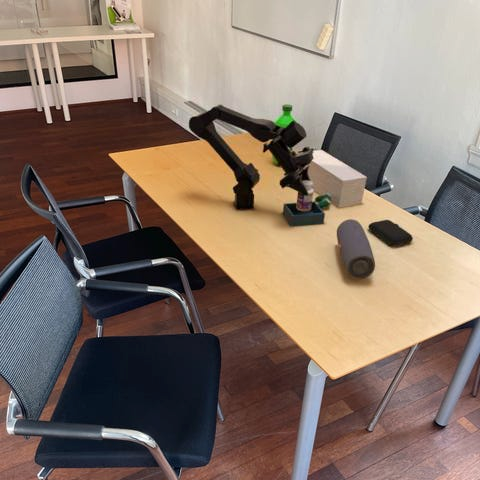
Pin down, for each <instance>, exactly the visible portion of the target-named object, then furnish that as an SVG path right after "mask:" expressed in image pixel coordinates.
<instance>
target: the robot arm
mask: <svg viewBox="0 0 480 480" xmlns="http://www.w3.org/2000/svg"><path fill="white" fill-rule="evenodd" d="M216 120H218V121H221V122H223V123H226V124H228V125H230V126H233V127H235V128H238V129H241V130H242V131H245V132H247V133H248V134H249V135H250V136H252V138H254V139H255V140H257V141H259V143H263V148H262V153H266V152H267V151H269V152H270V154H271V155H273V156H274V158H275V159H276V160H277V162H278V164H276V166H277V167H278V168H279V167H280V168H281V169H282V170H283V172H284V173H283V177H281V178H280V179H279V186H280V187H281V188H282V190H283V189H285V188H290V189H291V190H293V191H295V192H297V193H298V192H300V193H302V194H303V195H305V196H307V195H308V192H307V190H306V188H305V186H304V184H303V182H302V181H305V180H307V181H310V178H309V175H308V170H309V166H308V167H305V166H306V165H309V164H310V163H311V162H312V160H313V159H314V158H313V151H314V150H312V149H313V148H310V147H309V146H308V145H307V146H304V147H303V148H302V150H301V151H300V152H298V153H296V151H295V150H292V152H291V151H290V149H289V148H288V147H292V148H294V147H296V145H297V146H298V144H300V143H301V142H302V141H304V139H306V138H307V132H306V130H305V128H304V126H303V125H301V124H300V123H299V122H297V120H296V119H295V120H296V121H295V120H293V121H292V122H291V123H289V125H288V126H287V127H285V128H284V127H281V126H278V125H275V123H274V122H275V121H274V120H270V119H266V118H255V117H251V116H249V115H246V114H243V113H241V112H238V111H235V110H234V109H231V108H228V107H226V106H224V105H223V104H220V103H218V104H216V105H214V106H213V107H212V108H210V109H209V110H208V111H205V112H204V111H201V112H198V113H197V114H195V115H193V116H191V117H190V118H189V120H188V129H189V130H190V132H192V133H193V134H194V135H195V136H196V137H197V138H198V139H199V138H200V139H202V140H204V141H206V143H208V144H209V146H210V147H211V148H212V149H213V151H214V152H215V153H216V154H217V155H218V156H219V157H220V158H221V159H222V160H223V162H224V163H225V164H226V165H227V166H228V168H229V169H230V170H231V171H232V173H233V175H234V179H235V181H236V182H237V183H236V184H235V185H234V186H233V187H232V191H233V193H234V201H233V205H234V207H235V208H236V210H250V209H251V210H253V209H254V208H255V206H254V205H255V194H254V190H253V189H254V188H255V187H256V185H258V184H259V182H260V180H261V176H260V173H259V169H257V168H256V167H255V165H254V164H253V163H252V162H249V163H248V164H247V163H245V162H243V160H242V159H241V158H240V157H239V156H238V154H236V152H235V151H234V150H233V148H232V147H231V146H230V145H229V144H228V143H227V142H226V141H225V140H224V139H223V137H222V136H221V135H220V134H219V133H218V131H217V128H216V125H215V123H214V121H216ZM296 122H297V123H296ZM278 136H281V137H280V138H279V139H276V138H277V137H278ZM312 189H313V187H312Z"/></svg>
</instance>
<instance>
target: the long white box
mask: <svg viewBox="0 0 480 480" xmlns="http://www.w3.org/2000/svg"><path fill="white" fill-rule="evenodd" d="M312 151H313V158H314V159H313V160H312V162H311V163H310V164H309V165H306V166H305V167H308V166H309V170H308V175H309V178H310V181H311V182H312V183H313V185H312V187H313V190H314V191H315V192H316V193H317V194H319V196H321V195H326V194H327V193H329V194H330V195H331V203H330V204H333V205H334V206H335V207H337V208H339V209H340V208H346V207H349V206H350V207H351V206H357V205H362V202H363V199H364V194H365V188H366V184H367V179H368V177H367V176H366V175H365V174H363V173H361V172H360V171H358V170H356V169H354V168H352V167H351V166H349V165H347V164H345V163H344V162H343V161H341V160H339V159H337V158H336V157H334V156H332V155H331V154H329V153H328V152H326V151H324V150H323V149H318V150H312Z"/></svg>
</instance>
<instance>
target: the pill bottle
mask: <svg viewBox="0 0 480 480" xmlns="http://www.w3.org/2000/svg"><path fill="white" fill-rule="evenodd" d="M302 182H303V184H304V186H305V188H306V190H307V192H308V195H307V196H305V195H303V194H302V193H300V192H298V191H297V197H296V203H297V204H296V208H297V209H298V210H300V211H309V210H310V209H311V205H312V202H313V198H314V191H315V190H313V189H312V185H313V183H312V182H311V181H307V180H305V181H302Z"/></svg>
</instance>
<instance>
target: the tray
mask: <svg viewBox="0 0 480 480" xmlns="http://www.w3.org/2000/svg"><path fill="white" fill-rule="evenodd" d="M296 204H297V202H290V203H289V202H288V203H283V207H282V208H283V209H282V215H283V216H284V218H285V219H286V221H287V222H288V224H289V226H290V227H300V226H311V225H323V224H324V222H325V217H326V216H325V215H326V213H325V212H324V211H323V208H322V209H321V208H320V207H319V206H318V203H317V201H316V200H315V201H312V205H311V209H310V210H309V211H300V210H298V209H297V208H296Z"/></svg>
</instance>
